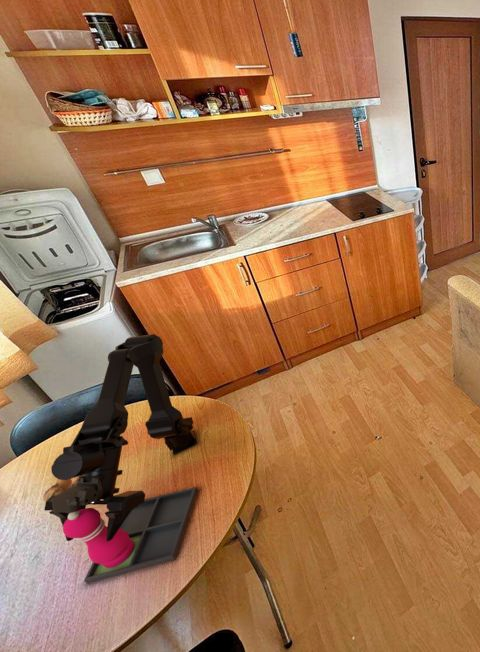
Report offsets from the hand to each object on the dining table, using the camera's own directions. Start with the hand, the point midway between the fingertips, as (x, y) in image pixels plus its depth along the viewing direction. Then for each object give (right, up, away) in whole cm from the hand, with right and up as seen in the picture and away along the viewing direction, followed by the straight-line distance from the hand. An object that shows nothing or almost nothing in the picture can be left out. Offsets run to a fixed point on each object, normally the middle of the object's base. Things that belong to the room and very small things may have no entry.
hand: (89, 540), depth 85 cm
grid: (+3, -6, +12) cm, 14 cm away
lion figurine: (-26, 0, +21) cm, 33 cm away
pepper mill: (0, -8, +8) cm, 11 cm away
